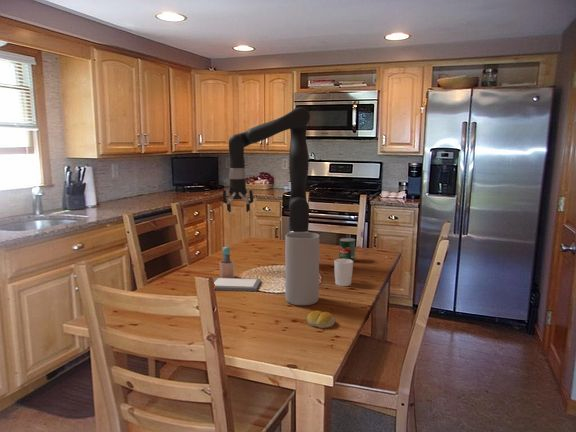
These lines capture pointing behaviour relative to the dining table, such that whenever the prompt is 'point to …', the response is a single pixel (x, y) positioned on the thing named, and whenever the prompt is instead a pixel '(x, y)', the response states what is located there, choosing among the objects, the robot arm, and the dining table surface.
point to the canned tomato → (347, 249)
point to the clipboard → (236, 284)
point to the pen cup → (226, 269)
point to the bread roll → (320, 319)
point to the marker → (226, 255)
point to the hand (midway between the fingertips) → (238, 211)
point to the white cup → (343, 271)
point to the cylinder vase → (302, 268)
